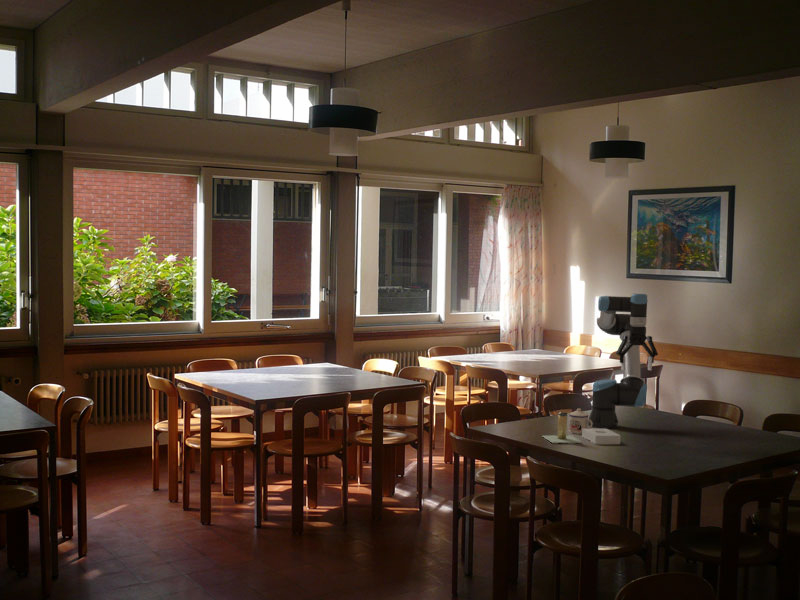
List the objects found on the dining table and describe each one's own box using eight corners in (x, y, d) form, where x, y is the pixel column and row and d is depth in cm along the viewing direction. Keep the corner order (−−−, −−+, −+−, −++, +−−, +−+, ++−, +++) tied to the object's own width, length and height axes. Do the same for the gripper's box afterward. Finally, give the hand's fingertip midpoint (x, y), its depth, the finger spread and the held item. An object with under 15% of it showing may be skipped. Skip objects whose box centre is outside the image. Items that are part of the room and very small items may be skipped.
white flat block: (581, 437, 387) (582, 428, 387) (605, 436, 389) (606, 428, 389) (595, 444, 371) (595, 435, 371) (620, 444, 373) (620, 435, 373)
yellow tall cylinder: (556, 437, 379) (556, 412, 378) (564, 437, 379) (565, 412, 379) (559, 439, 375) (560, 413, 374) (567, 439, 375) (568, 413, 375)
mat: (542, 437, 383) (542, 435, 383) (570, 437, 385) (570, 435, 385) (552, 444, 369) (552, 442, 369) (581, 444, 371) (581, 441, 371)
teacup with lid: (565, 432, 397) (565, 408, 397) (574, 430, 404) (575, 406, 403) (587, 436, 389) (588, 412, 388) (596, 433, 396) (597, 409, 395)
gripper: (616, 326, 385) (615, 370, 386) (666, 326, 389) (664, 371, 390) (610, 324, 393) (608, 368, 394) (658, 325, 397) (657, 369, 398)
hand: (636, 370), depth 392 cm, fingers open, 13 cm apart
